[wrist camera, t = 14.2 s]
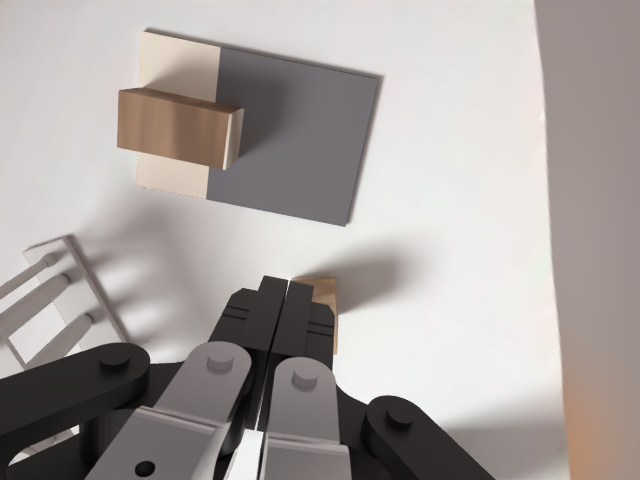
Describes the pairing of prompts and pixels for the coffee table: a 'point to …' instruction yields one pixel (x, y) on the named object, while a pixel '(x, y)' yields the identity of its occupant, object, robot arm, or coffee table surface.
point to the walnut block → (179, 127)
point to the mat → (264, 129)
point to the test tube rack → (72, 304)
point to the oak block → (325, 297)
